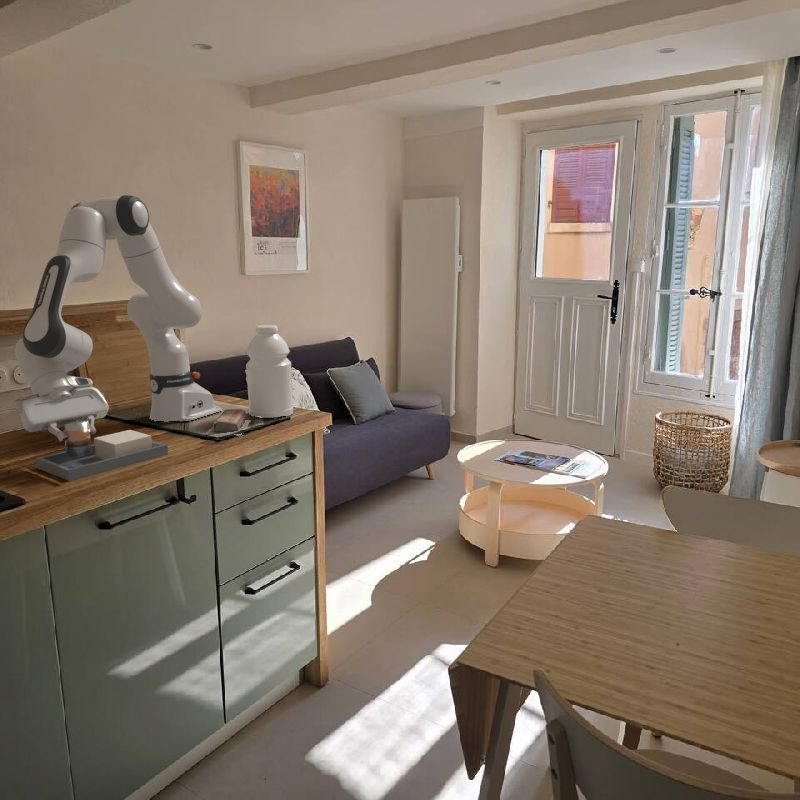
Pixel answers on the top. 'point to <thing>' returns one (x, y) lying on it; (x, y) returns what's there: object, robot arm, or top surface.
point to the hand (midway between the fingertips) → (78, 436)
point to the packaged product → (228, 422)
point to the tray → (94, 462)
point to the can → (77, 438)
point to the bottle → (269, 374)
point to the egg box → (121, 444)
